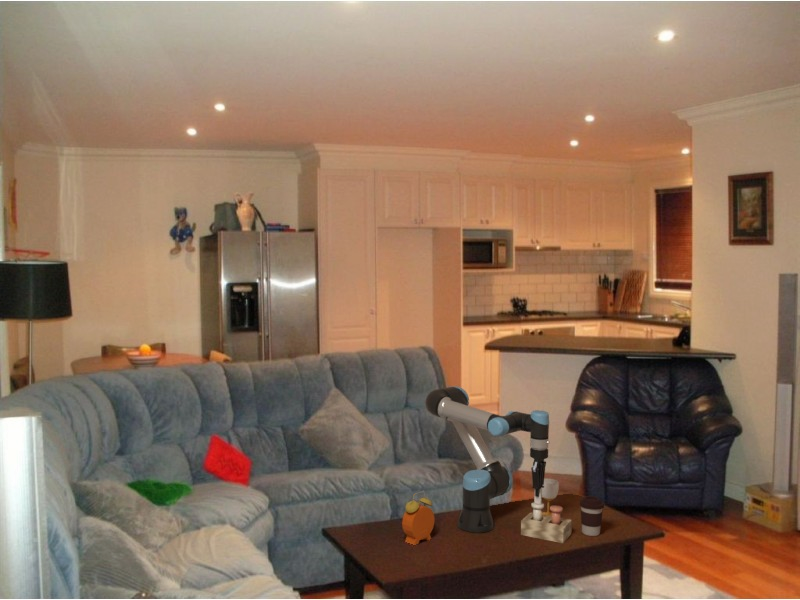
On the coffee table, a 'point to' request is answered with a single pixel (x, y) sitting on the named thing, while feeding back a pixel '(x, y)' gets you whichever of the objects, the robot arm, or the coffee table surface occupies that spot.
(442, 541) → the coffee table surface
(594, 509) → the coffee cup
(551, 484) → the cup
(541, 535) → the beech block
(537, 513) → the ivory plug
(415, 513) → the alarm clock
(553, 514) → the terracotta plug
